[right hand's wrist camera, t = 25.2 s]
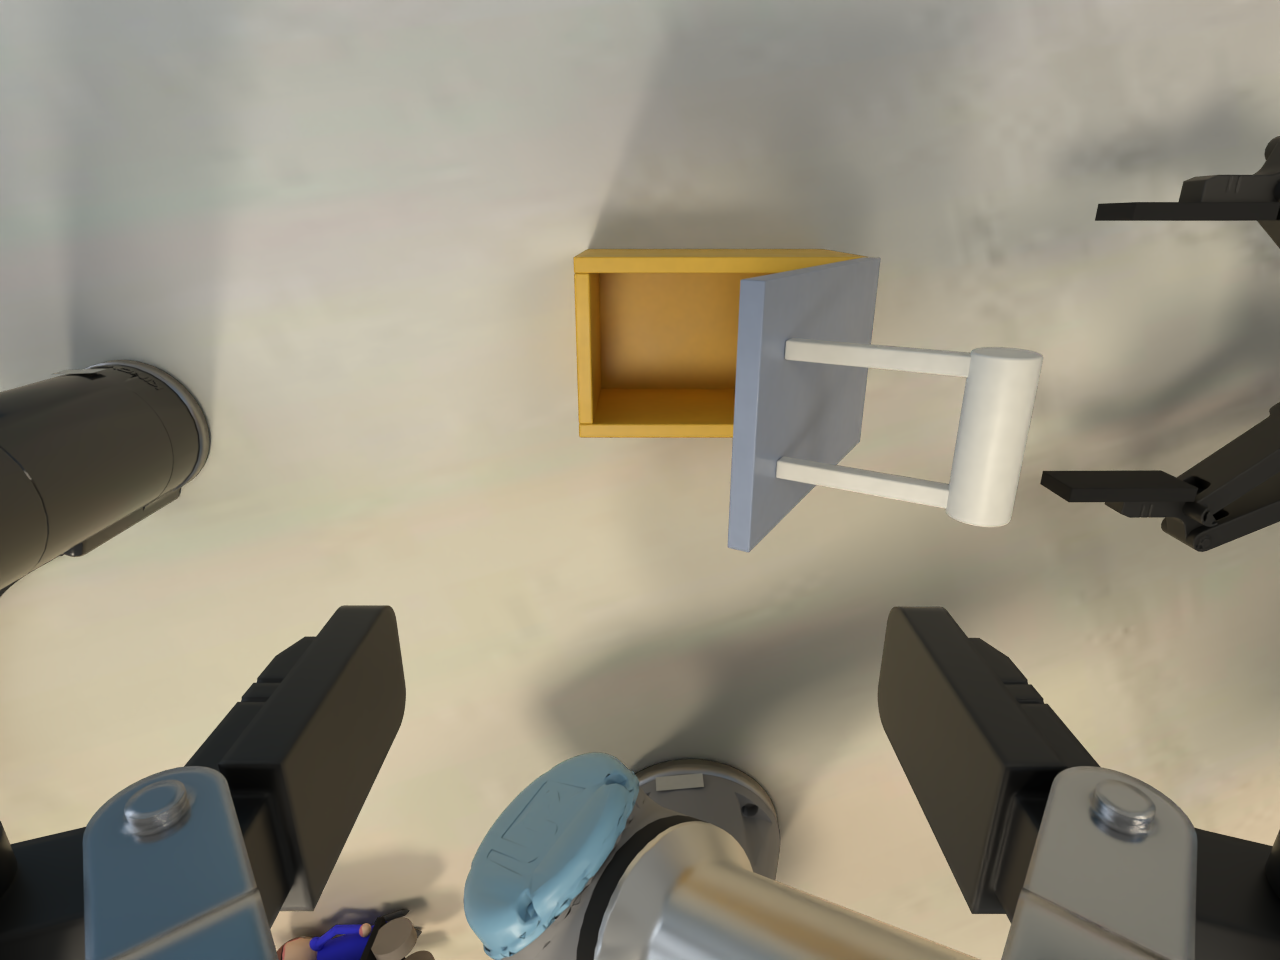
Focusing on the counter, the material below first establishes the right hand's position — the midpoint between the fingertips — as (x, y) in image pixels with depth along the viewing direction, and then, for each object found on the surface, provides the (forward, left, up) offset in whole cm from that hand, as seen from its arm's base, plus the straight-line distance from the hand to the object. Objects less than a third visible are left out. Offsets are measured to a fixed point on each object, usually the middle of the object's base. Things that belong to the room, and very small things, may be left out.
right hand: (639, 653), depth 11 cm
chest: (+1, -4, -37) cm, 37 cm away
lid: (+2, -7, -21) cm, 22 cm away
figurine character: (-61, +6, -37) cm, 72 cm away
